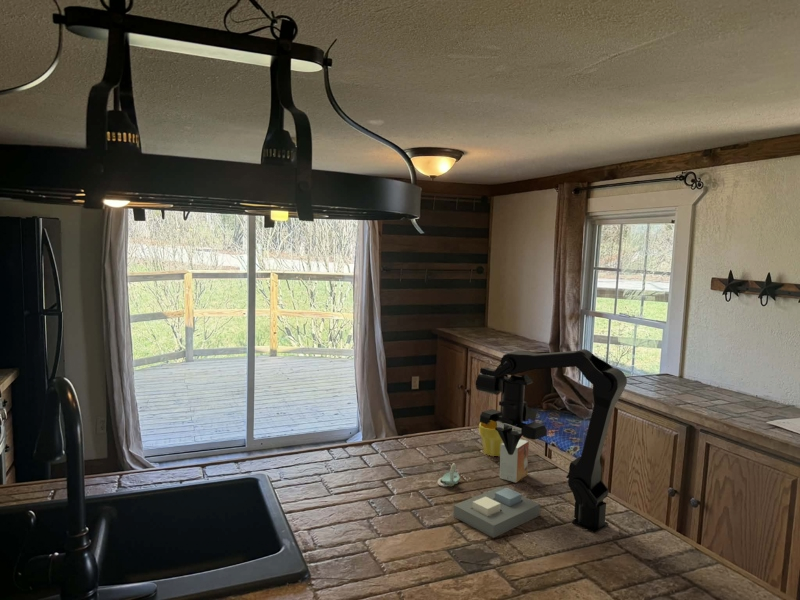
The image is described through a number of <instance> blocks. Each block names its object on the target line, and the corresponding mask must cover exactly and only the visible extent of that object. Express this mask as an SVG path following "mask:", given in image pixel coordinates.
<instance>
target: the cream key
mask: <svg viewBox="0 0 800 600" xmlns="http://www.w3.org/2000/svg"><path fill="white" fill-rule="evenodd" d="M473 510H475V511H477V512H479V513H481V514H482V515H484V516H486V517H489V516H491V515H493V514H495V513H498V512H500V503H498V502H496V501H494V500H492V499H490V498H488V497H483V498H481V499H478V500H476V501H473Z"/></svg>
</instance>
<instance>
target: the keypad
mask: <svg viewBox="0 0 800 600" xmlns="http://www.w3.org/2000/svg"><path fill="white" fill-rule="evenodd" d="M505 488H506V487H502V486H498V487H495V488H493V489H490V490H489V491H485V492H483V493H480V494H478V495H475V496H473V497H471V498H468V499H465V500H463V501H461V502H459V503H456V504H454V505H453V517H454V518H455V519H457V520H460V521H461V522H463V523H464V524H466V525H468V526H470V527H472V528H475V529H476V530H478V531H480V532H482V533H483V534H486V535H487V536H488V537H491V538H492V539H493V538H497V537H498V536H500V535H503V534H505V533H507V532H509V531H511V530H512V529H515V528H516V527H519V526H521V525H523V524H525V523H527V522H529V521H531V520H534V519H535V518H537V517H540V515H541V503H539V502H537V501H534V500H532V499H529V498H528V497H526V496H523V495H522V499H521V502H520V503H518V504H516V505H513V506H511V507H508V506H506V505H504V504H502V503H500V502H498V501H496V500H495V492H498V491H500V490H503V489H505ZM483 497H488V498H490V499H492V500H494V501H496V502H498V503H500V512H498V513H495V514H493V515H491V516H489V517H486V516H484V515H482V514H481V513H479V512H477V511H475V510H473V501H476V500H478V499H481V498H483Z"/></svg>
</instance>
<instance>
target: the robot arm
mask: <svg viewBox="0 0 800 600" xmlns="http://www.w3.org/2000/svg"><path fill="white" fill-rule="evenodd" d="M573 367H574V368H577V369H578V370H579V371H580V372H581V374H582V375H583V377H585V380H587V381H588V382H589V383H591V384H592V399H593V407H592V412H591V416H590V420H589V423H588V426H587V432H586V434H585V438H584V443H583V446H582V451H581V455H580V456H578V457H576V458H575V459H573V461H571V462H570V463H569V470H568V474H567V476H565V478H566V479H568V480H567V485H568V486H567V487H569V489H570V491H571V492H572V494H573V498H574V508H573V509H574V510H573V511H574V512H573V513H574V515H573V517H574V519H572V520H571V523H572V524H573V525H575V526H578V527H579V528H580V527H581V528H582V529H584V530H586V531H589V532H591V533H594V534H596V533H599V532H600V531H602V530H603V529H604V528H607V527H608V526H609V523H608V522H607V521H606V515H607V514H606V512H607V502H605V501H604V500H605V499H606V498H607V497H608V495H609V493H610V489H609V488H608V487H607V485H606V484H605V483H604V482H603V480H602V479H601V478H602V465H601V456H602V452H603V448H604V445H605V442H606V441H605V440H606V437H607V433H608V430H609V425H610V421H611V418H612V414H613V410H614V407H615V406H616V404H617V403H618V401H619V399H620V398H621V396H622V394H623V391H624V390H625V388H626V386H627V384H628V382H627V381H628V379H627V376H626V375H625V373H624V372H623V371H622V370H620V369H619V368H615V367H613V366H612V365H611V364H609V363H608V362H607V361H605V360H603V359H601V358H599V357H598V356H596V355H595V354H593V352H592V351H589V350H588V349H587V348H586V349H578V350H570V351H569V350H568V351H558V352H557V351H556V352H546V353H545V352H543V353H541V352H540V353H538V352H531V351H528V350H527V351H525V350H516V351H513V352H508V353H505V354H503V356H502V357H501V359H500V363H499V364H498V366H497V367H496V369H492V368H489V367H486V366H485V367H481V368H480V370H479V371H480V372H479V373H478V375H477V377H476V380H475V388H476V390H477V391H478V392H481V393H485V394H490V395H495V396H499V395H501V393H502V400H499V402H498V405H499V406H501V410H496V409H494V408H492V409H488V410H483V411H481V413H480V414H479V423H480V422H482V423H485V424H489V423H490V420H492V421H495V422H497V427H496V428H495V430H497V431H498V433H499V435H500V437H501V439H502V441H503V443H504V445H505V447H506V450H507V452H508V454H509V455H513V453H514V451H515V449H516V446H517V444H518V442H519V440H520V439H521V438H522V437H523V438H526V439H530V440H532V441H533V440H535V441H536V440H538V439H541V438H544V437H547V434H548V428H547V426H546V425H545V424H542V423H539V422H537V421H536V420H537V415H538V411H539V410H537V409H534V408H531V407H528V402H527V401H525V386H528V385H531V384H533V383H534V382H533V380H532V379H531V378H530V377H529V376H528V374H527V373H526V374H522V375H521V376H520V375H517V374H521V373H525V372H528V371H532V370H540V369H541V370H542V369H555V368H556V369H558V368H559V369H560V368H573ZM506 375H507V376H506ZM529 420H531V421H532V422H529ZM525 422H529V423H525Z"/></svg>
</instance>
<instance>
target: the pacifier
mask: <svg viewBox="0 0 800 600" xmlns="http://www.w3.org/2000/svg"><path fill="white" fill-rule="evenodd" d="M456 470H457V465H456V463H455V462H453V463H452V465H451V467H450V470H449V471H447V472H446V473H444V474H443V476H442V477H440V478H438V479H437V484H438V485H439V486H440V487H445V488H446V487H453V486H455V485H457V484H458V483H459V480H460V475H459V473H458V472H457V471H456ZM442 482H443V483H442Z"/></svg>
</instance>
